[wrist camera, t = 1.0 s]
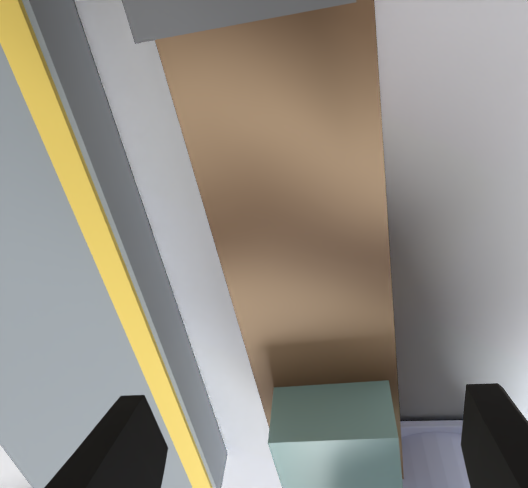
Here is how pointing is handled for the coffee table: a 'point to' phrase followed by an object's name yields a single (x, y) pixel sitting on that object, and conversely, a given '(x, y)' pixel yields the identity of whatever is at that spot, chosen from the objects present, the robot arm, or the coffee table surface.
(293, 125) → the wooden plank
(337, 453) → the teal square block
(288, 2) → the crate
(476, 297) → the coffee table surface
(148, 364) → the dock
